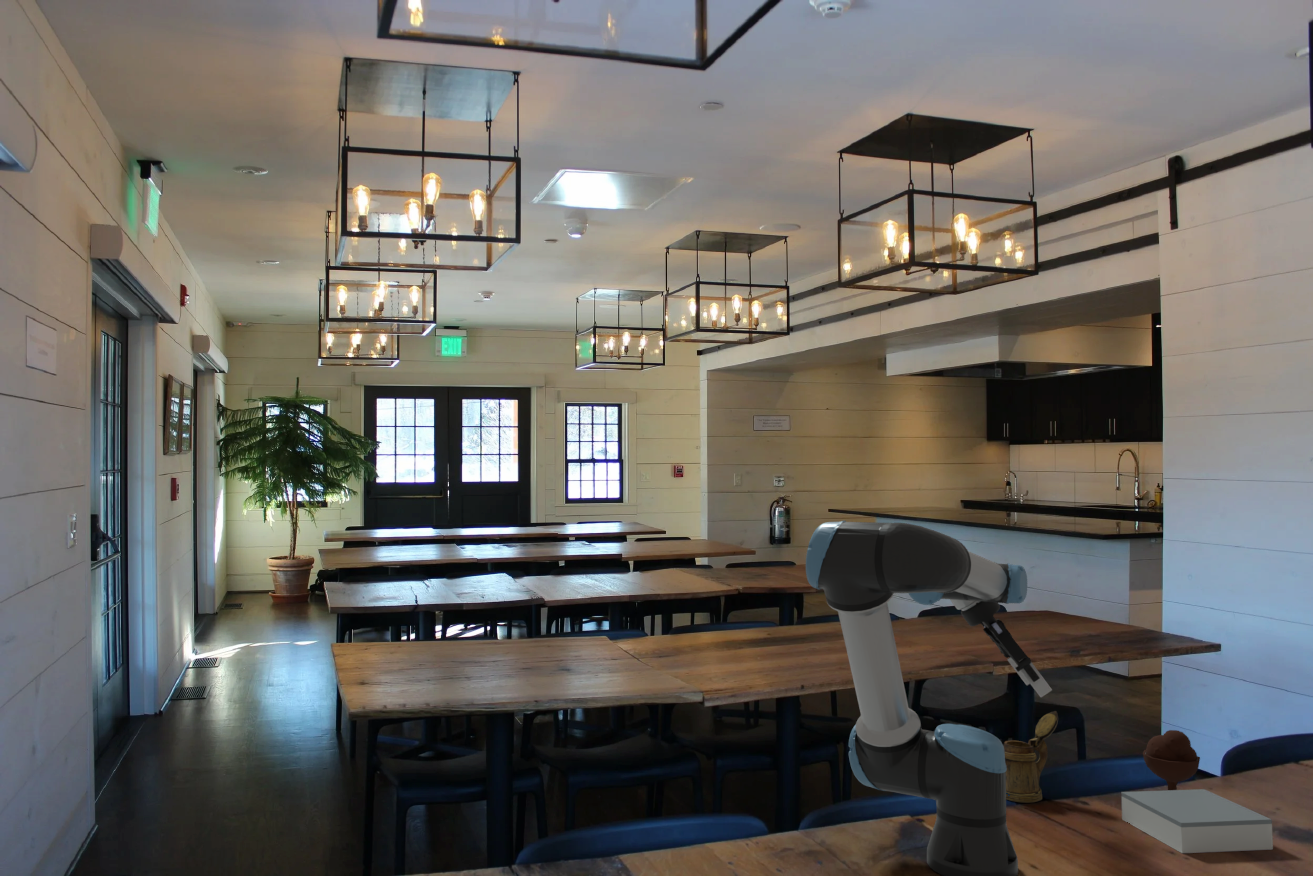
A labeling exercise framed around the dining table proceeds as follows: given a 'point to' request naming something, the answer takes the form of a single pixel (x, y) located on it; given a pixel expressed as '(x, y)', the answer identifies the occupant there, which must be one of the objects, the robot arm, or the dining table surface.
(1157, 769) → the ice cream bowl
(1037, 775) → the wooden mug
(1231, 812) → the grey flat block
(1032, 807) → the dining table surface
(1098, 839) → the dining table surface
